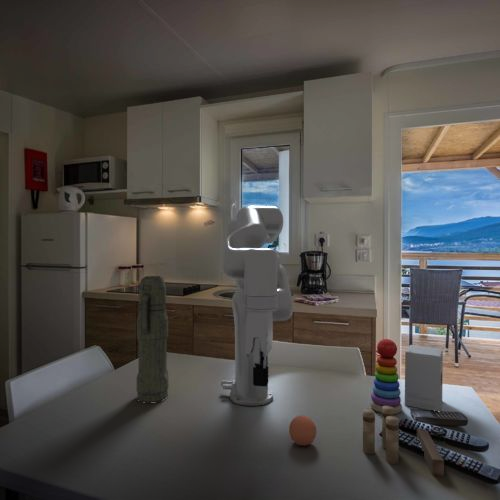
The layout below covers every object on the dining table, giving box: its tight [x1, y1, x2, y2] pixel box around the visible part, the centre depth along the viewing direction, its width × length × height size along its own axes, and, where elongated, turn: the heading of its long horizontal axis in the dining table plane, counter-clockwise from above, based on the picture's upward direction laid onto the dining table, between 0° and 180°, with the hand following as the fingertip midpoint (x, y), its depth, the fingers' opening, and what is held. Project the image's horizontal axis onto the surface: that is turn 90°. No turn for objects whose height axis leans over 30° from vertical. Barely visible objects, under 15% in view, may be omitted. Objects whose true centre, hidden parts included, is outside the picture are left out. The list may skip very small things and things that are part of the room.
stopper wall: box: [416, 428, 445, 477], centre depth 75 cm, size 2×12×3 cm, turn 168°
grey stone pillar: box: [136, 275, 169, 403], centre depth 105 cm, size 9×12×35 cm
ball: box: [288, 414, 317, 447], centre depth 80 cm, size 6×6×6 cm
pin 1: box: [381, 406, 395, 450], centre depth 79 cm, size 2×2×8 cm
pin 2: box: [385, 416, 400, 465], centre depth 74 cm, size 2×2×8 cm
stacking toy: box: [369, 338, 403, 415], centre depth 97 cm, size 8×8×19 cm
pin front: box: [362, 408, 376, 455], centre depth 77 cm, size 2×2×8 cm
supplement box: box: [404, 344, 444, 412], centre depth 101 cm, size 9×9×15 cm
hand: (260, 384), depth 81 cm, fingers closed
